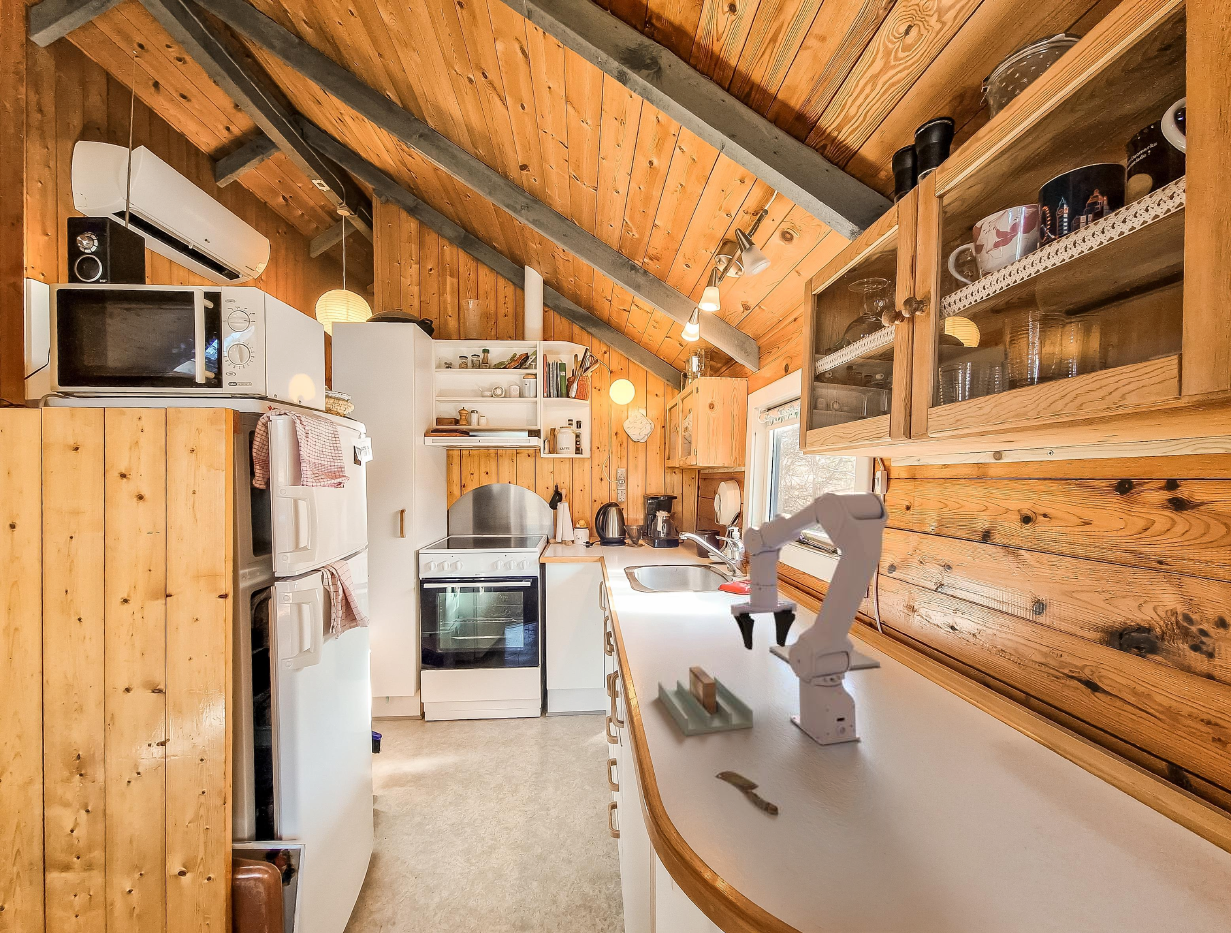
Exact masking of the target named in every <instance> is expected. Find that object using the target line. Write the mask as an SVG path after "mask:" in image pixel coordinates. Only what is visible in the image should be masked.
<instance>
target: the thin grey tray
mask: <svg viewBox="0 0 1231 933" xmlns="http://www.w3.org/2000/svg"><path fill="white" fill-rule="evenodd" d="M791 645H792V644H785V647H781V646H780V645H774V646H773V645H771V646H769V652H771V651H772V652H771V653H773V654H774V653H775V654H774V655H776V656H777V655H778V657H779V656H780V657H781V659H782V658H783V659H784V660H783V659H782V660H783V661H785V660H786V661H787V662H786V661H785V662H786V663H788V662H789V649H790V647H791ZM780 657H779V658H780ZM851 659H852V663H851V667H850V669H849V671H850V670H859V669H870V668H879V667H881V662H880V661H878V660H876V659H873V658H872V657H869V656H868V655H865V654H863V653H861V652H859V651H858V650H855V649H853V650H852V654H851Z"/></svg>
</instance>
